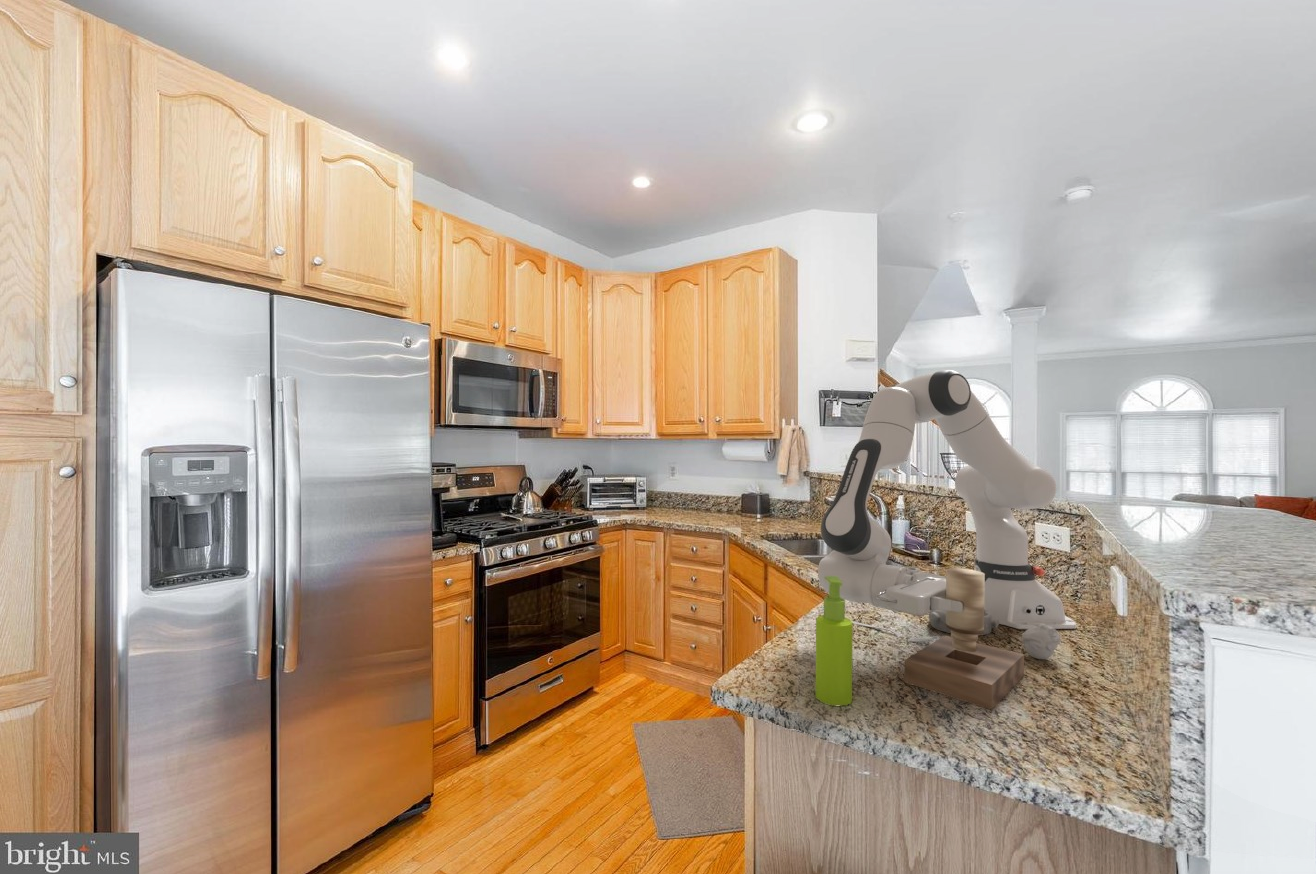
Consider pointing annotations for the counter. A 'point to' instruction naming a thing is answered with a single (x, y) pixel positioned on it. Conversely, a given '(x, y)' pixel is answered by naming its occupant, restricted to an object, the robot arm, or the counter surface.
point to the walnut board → (965, 671)
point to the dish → (938, 622)
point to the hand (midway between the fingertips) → (970, 603)
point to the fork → (896, 633)
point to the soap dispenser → (834, 649)
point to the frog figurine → (1041, 641)
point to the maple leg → (965, 607)
